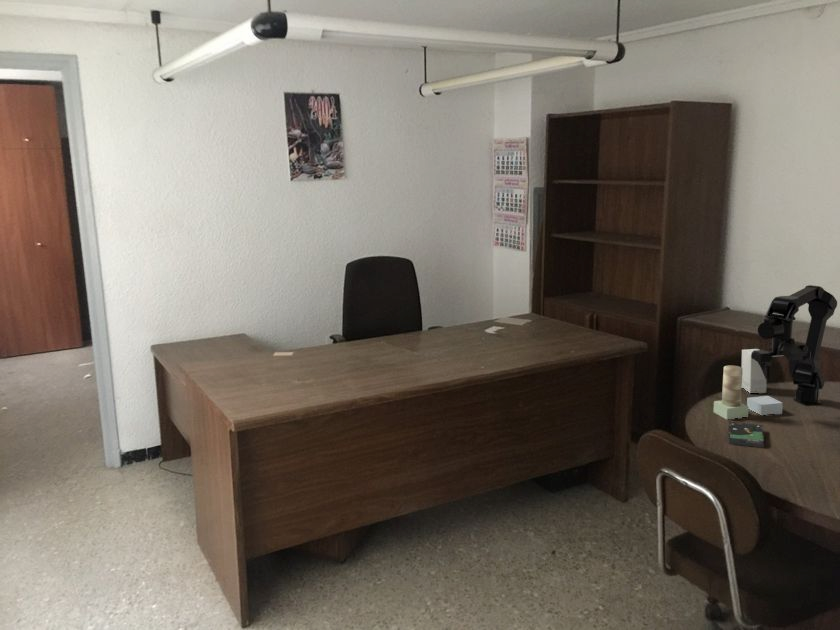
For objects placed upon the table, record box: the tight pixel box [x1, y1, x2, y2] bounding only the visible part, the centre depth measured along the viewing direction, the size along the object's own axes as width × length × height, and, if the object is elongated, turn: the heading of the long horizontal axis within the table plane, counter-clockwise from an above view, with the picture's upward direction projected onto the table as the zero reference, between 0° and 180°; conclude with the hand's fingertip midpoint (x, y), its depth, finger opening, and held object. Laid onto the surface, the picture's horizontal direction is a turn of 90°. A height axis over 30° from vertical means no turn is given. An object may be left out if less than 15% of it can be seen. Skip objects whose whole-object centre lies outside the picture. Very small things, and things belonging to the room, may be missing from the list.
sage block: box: [712, 399, 749, 420], centre depth 246 cm, size 8×8×4 cm
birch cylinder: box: [721, 364, 743, 407], centre depth 245 cm, size 6×6×13 cm
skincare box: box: [741, 348, 768, 394], centre depth 269 cm, size 8×7×16 cm
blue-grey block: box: [746, 395, 784, 416], centre depth 249 cm, size 8×8×4 cm
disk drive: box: [727, 421, 765, 448], centre depth 227 cm, size 10×3×15 cm
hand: (779, 378), depth 243 cm, fingers open, 9 cm apart
